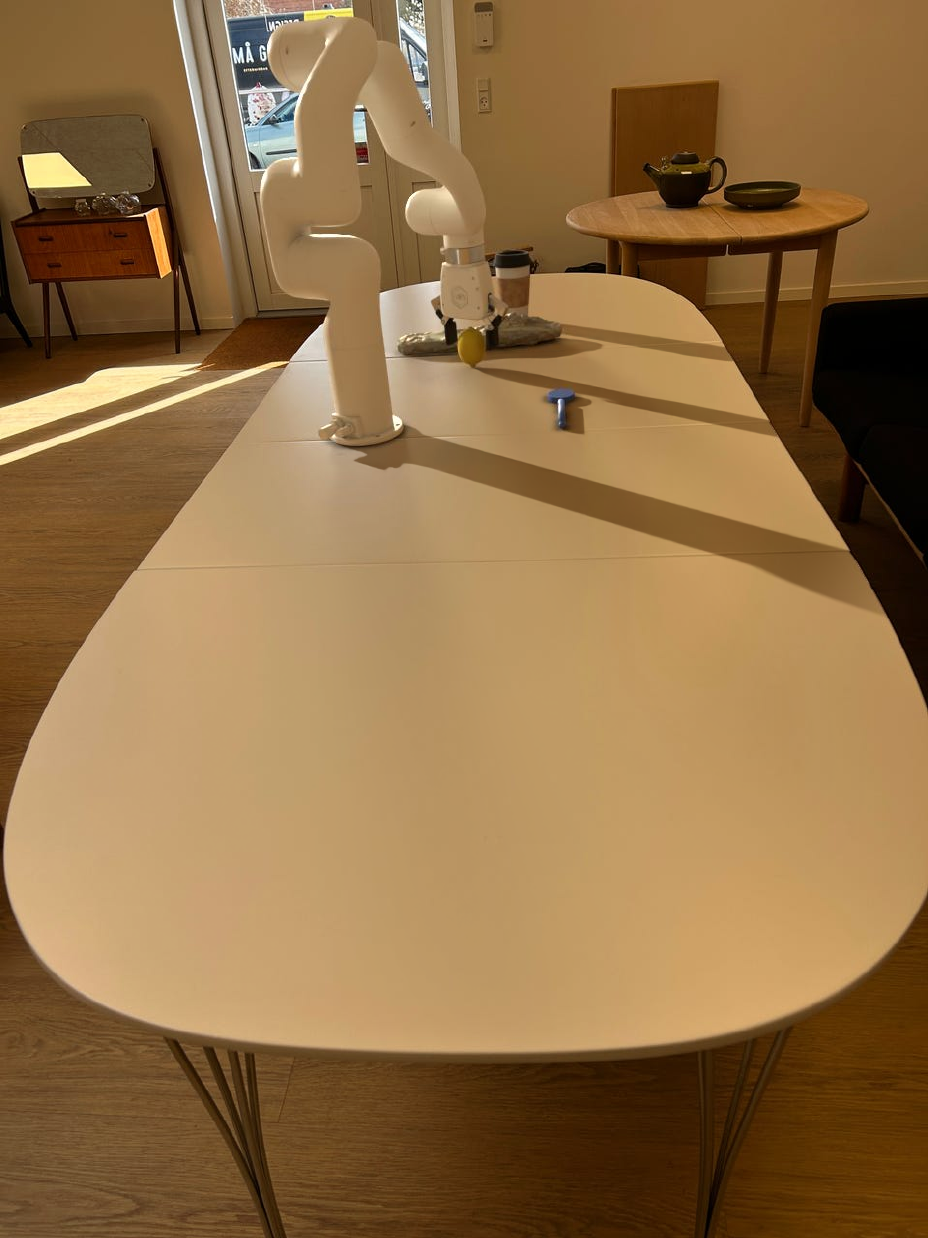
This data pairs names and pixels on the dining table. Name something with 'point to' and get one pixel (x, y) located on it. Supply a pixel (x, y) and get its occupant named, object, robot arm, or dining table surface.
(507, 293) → the coffee cup
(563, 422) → the blue paddle
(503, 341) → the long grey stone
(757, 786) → the dining table surface
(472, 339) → the lemon
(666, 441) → the dining table surface
